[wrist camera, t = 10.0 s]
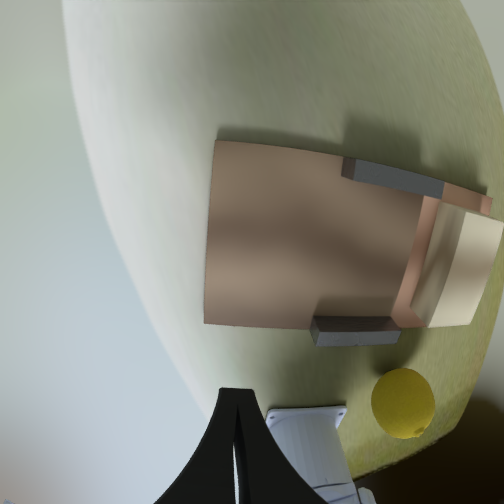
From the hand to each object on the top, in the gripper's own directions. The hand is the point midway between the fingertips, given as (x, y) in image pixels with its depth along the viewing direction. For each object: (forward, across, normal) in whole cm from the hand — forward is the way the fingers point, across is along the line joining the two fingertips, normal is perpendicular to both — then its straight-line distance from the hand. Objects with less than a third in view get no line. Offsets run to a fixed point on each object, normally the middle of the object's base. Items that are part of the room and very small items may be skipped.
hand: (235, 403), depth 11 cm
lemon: (+10, -15, +8) cm, 20 cm away
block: (+9, -16, -4) cm, 19 cm away
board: (+9, -9, -4) cm, 14 cm away
